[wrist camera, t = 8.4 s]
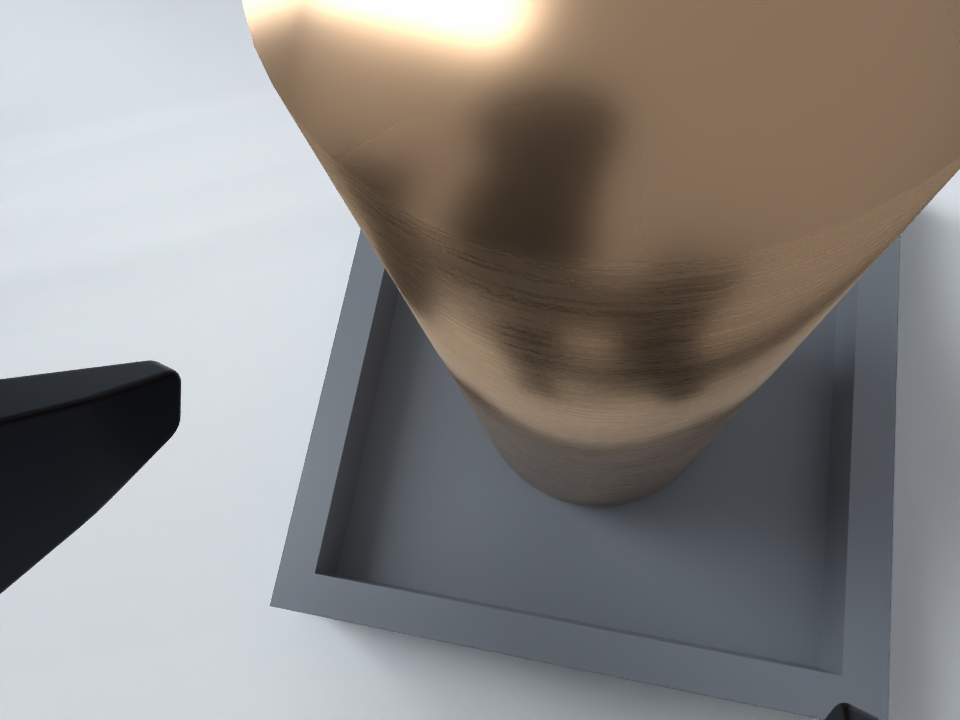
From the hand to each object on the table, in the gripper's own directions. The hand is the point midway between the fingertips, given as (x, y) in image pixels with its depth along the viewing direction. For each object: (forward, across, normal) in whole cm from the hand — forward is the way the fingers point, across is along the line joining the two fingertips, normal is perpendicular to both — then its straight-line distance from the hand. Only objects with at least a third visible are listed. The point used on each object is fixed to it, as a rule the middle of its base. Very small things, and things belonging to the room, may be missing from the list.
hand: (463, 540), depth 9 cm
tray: (+9, 0, +2) cm, 9 cm away
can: (+8, 0, +2) cm, 9 cm away
